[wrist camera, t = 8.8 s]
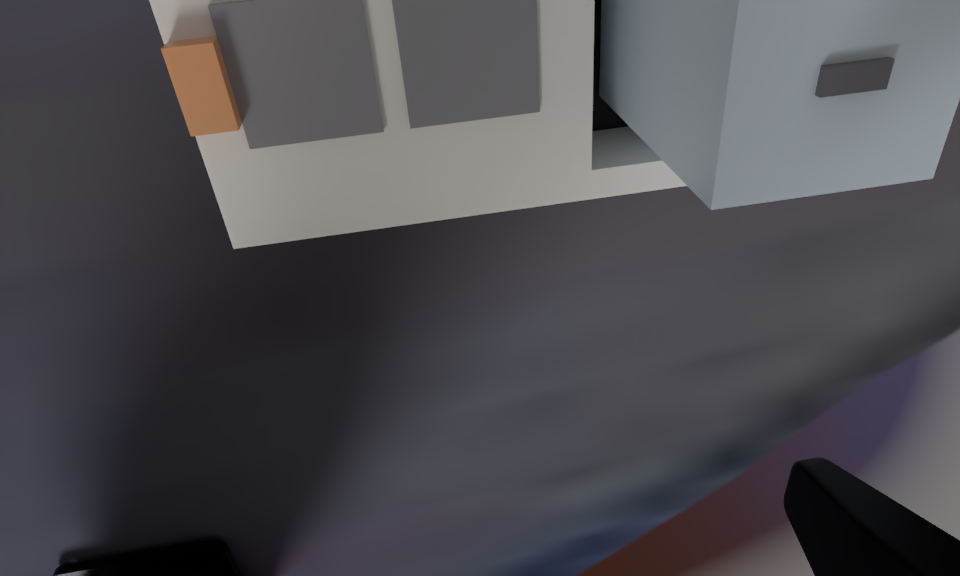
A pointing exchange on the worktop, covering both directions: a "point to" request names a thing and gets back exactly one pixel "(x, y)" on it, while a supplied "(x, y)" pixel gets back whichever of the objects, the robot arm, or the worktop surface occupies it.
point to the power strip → (393, 111)
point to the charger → (784, 91)
